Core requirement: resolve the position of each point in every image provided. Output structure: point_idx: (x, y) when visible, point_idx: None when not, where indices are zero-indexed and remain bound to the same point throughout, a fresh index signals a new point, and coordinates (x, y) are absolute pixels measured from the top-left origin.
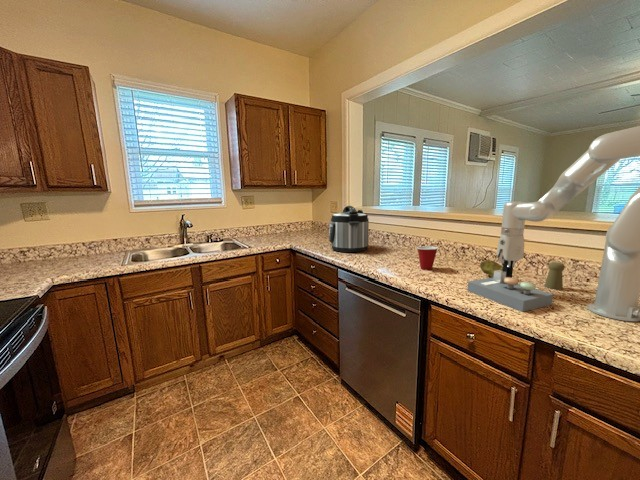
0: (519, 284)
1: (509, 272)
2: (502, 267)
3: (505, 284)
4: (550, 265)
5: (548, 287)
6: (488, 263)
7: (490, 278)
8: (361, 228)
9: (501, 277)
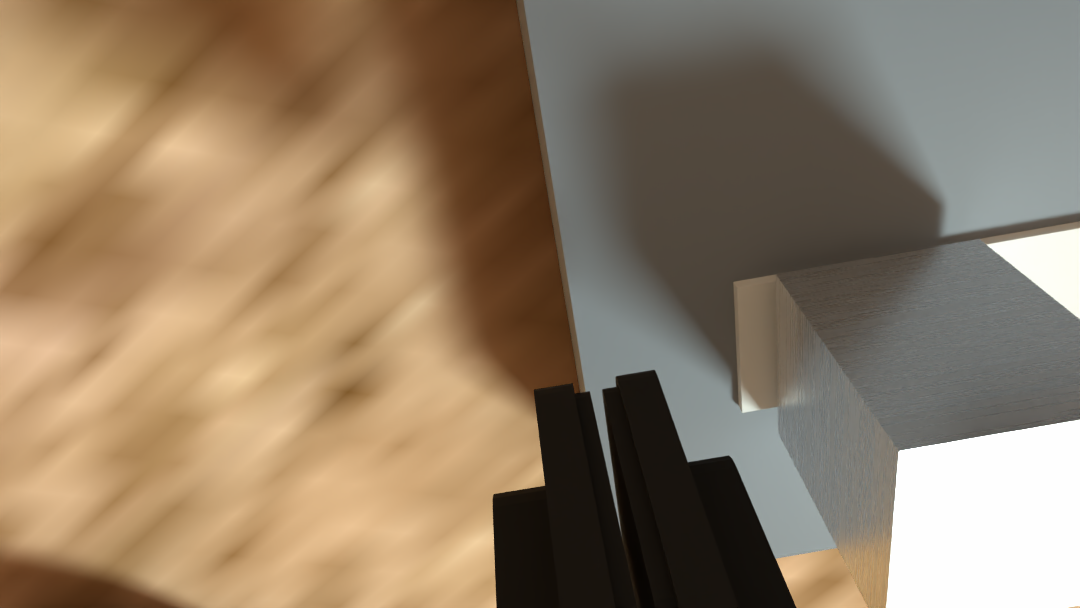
0: (544, 33)
1: (682, 462)
2: None
3: (928, 118)
4: None
5: None
6: None
7: (810, 527)
8: None
9: (1020, 311)
